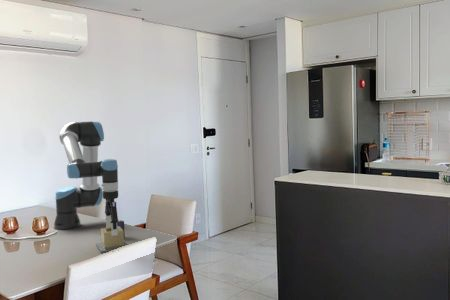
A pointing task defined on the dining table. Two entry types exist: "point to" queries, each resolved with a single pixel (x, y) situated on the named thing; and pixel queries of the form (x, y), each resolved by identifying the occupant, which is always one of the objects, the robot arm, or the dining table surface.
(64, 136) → the robot arm
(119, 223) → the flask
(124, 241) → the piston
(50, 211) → the dining table surface
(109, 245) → the olive slotted box
